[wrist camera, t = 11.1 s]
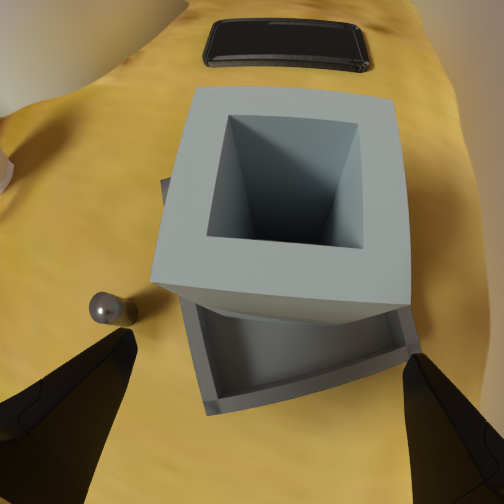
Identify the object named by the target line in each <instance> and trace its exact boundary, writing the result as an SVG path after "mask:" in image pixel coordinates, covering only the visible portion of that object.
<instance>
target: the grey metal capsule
mask: <svg viewBox="0 0 504 504" xmlns="http://www.w3.org/2000/svg"><path fill="white" fill-rule="evenodd" d="M89 311H90V315H91V317H92V318H93V320H94V321H96V322H97V323H102V324H108V325H115V326H123V327H128V326H130V325H132V324H133V323H134V322H135V320H136V318H137V308H136V306H135V304H134V303H133V302H132V301H130V300H128V299H124V298H121V297H118V296H115V295H112V294H109V293H106V292H99V293H97V294H95V295H94V296H93V297H92V299H91V301H90V304H89Z"/></svg>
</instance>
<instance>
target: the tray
mask: <svg viewBox="0 0 504 504" xmlns="http://www.w3.org/2000/svg"><path fill="white" fill-rule="evenodd" d="M170 180H171V177H170V178H167V179H163V180H161V188H162V196H163V203H164V206H165V202H166V197H167V193H168V189H169V185H170ZM257 240H262V241H274V242H287V243H299V244H311V245H318V243H310V242H298V241H286V240H274V239H262V238H257ZM179 299H180V304H181V309H182V314H183V319H184V324H185V329H186V333H187V338H188V342H189V347H190V351H191V355H192V360H193V364H194V368H195V372H196V376H197V380H198V384H199V388H200V392H201V396H202V400H203V404H204V407H205V411H206V415H207V416H211V415H217V414H223V413H229V412H234V411H239V410H244V409H249V408H254V407H259V406H263V405H268V404H272V403H277V402H281V401H285V400H289V399H293V398H297V397H300V396H304V395H308V394H311V393H315V392H319V391H322V390H325V389H329V388H332V387H335V386H339V385H342V384H345V383H348V382H351V381H354V380H357V379H360V378H363V377H366V376H369V375H371V374H374V373H377V372H380V371H382V370H385V369H388V368H390V367H393V366H396V365H398V364H401V363H403V362H406V361H408V360H409V358H410V356H411V355H412V354H414V353H422V351H421V347H420V342H419V338H418V334H417V330H416V326H415V323H414V319H413V315H412V312H411V308H410V305H408V306H405V307H402V308H398V309H395V310H392V311H388V312H385V313H382V314H378V315H375V316H371V317H368V318H364V319H361V320H357V321H353V322H350V323H346V324H342V325H338V326H334V327H328V326H314V325H301V324H289V323H277V322H267V321H257V320H247V319H238V318H229V317H225V316H223V315H221V314H218V313H216V312H214V311H212V310H209V309H207V308H205V307H203V306H201V305H198V304H196V303H194V302H192V301H190V300H188V299H185V298H183V297H181V296H179Z"/></svg>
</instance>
